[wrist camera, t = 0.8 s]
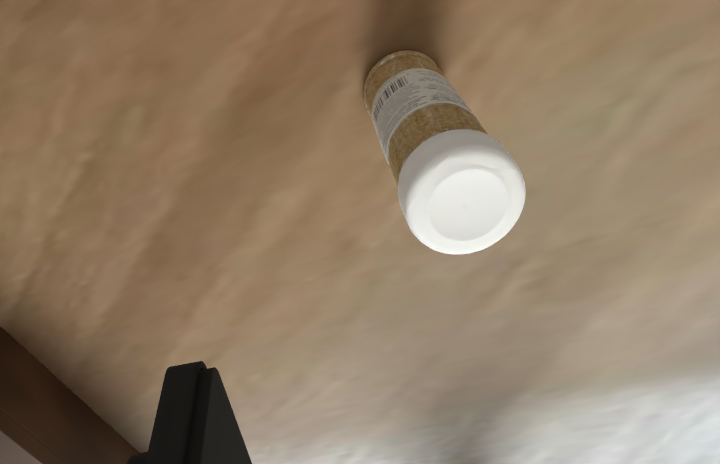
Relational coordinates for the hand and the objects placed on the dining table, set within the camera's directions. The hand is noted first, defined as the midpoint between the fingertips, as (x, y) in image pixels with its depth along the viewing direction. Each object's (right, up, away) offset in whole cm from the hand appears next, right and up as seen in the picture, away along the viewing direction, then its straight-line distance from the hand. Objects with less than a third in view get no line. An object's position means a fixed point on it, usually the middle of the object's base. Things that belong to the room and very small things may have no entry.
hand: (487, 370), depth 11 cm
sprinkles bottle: (0, +10, +23) cm, 25 cm away
